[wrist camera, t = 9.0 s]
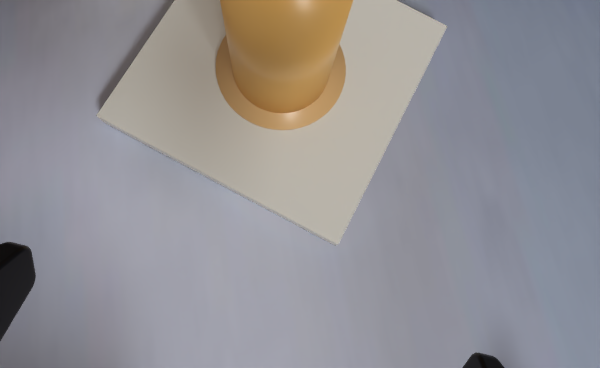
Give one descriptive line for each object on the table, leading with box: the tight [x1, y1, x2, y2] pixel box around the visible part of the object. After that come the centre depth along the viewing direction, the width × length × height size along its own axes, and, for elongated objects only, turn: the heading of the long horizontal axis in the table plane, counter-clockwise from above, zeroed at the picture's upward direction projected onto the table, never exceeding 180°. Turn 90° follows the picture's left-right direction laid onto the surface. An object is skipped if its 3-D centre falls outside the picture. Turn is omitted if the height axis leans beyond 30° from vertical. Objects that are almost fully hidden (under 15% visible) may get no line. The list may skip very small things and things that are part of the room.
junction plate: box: [96, 0, 447, 246], centre depth 24 cm, size 14×14×1 cm
